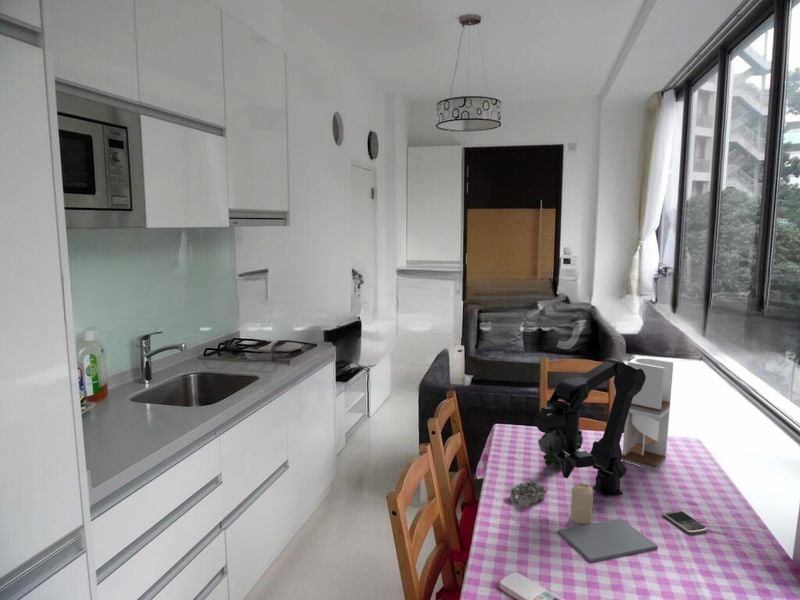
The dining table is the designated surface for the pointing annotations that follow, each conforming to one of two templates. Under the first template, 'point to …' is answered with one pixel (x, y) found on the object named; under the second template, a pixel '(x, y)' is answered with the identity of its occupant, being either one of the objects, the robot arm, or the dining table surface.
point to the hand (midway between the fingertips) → (565, 477)
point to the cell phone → (685, 522)
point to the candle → (581, 504)
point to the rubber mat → (606, 540)
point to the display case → (649, 415)
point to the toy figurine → (553, 458)
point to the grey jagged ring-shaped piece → (531, 497)
